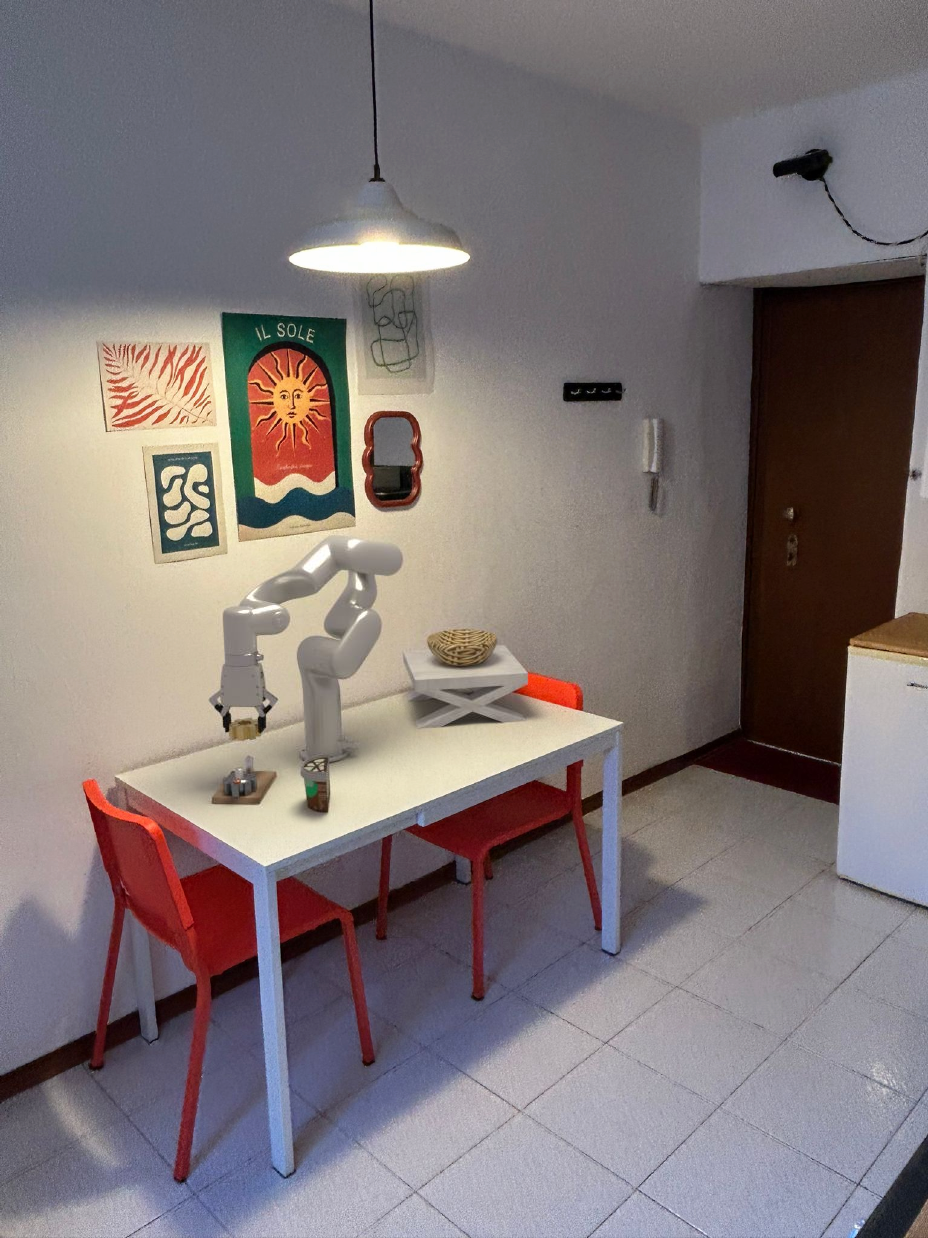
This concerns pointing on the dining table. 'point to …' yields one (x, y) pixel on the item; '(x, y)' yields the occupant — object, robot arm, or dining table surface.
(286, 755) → the dining table surface
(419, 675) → the stand with wicker basket
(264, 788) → the gear board
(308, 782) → the food container
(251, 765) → the peg
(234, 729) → the wooden gear
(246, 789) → the gear
